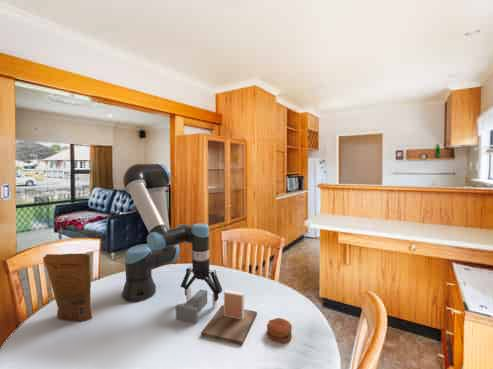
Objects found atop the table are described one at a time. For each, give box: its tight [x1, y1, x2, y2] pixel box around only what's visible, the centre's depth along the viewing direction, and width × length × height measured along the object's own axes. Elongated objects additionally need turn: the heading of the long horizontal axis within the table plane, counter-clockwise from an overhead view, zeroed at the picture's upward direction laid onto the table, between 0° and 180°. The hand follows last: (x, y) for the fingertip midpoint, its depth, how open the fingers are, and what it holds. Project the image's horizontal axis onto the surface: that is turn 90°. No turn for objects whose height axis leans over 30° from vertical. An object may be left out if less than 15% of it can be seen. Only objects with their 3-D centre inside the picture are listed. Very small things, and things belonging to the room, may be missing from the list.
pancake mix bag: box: [42, 253, 93, 323], centre depth 102 cm, size 7×19×28 cm, turn 82°
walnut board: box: [200, 304, 258, 346], centre depth 99 cm, size 16×19×2 cm
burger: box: [266, 317, 293, 344], centre depth 93 cm, size 10×9×5 cm
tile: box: [223, 289, 245, 319], centre depth 101 cm, size 8×2×10 cm, turn 72°
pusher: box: [175, 289, 208, 325], centre depth 108 cm, size 9×16×6 cm, turn 162°
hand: (201, 304), depth 113 cm, fingers open, 12 cm apart
